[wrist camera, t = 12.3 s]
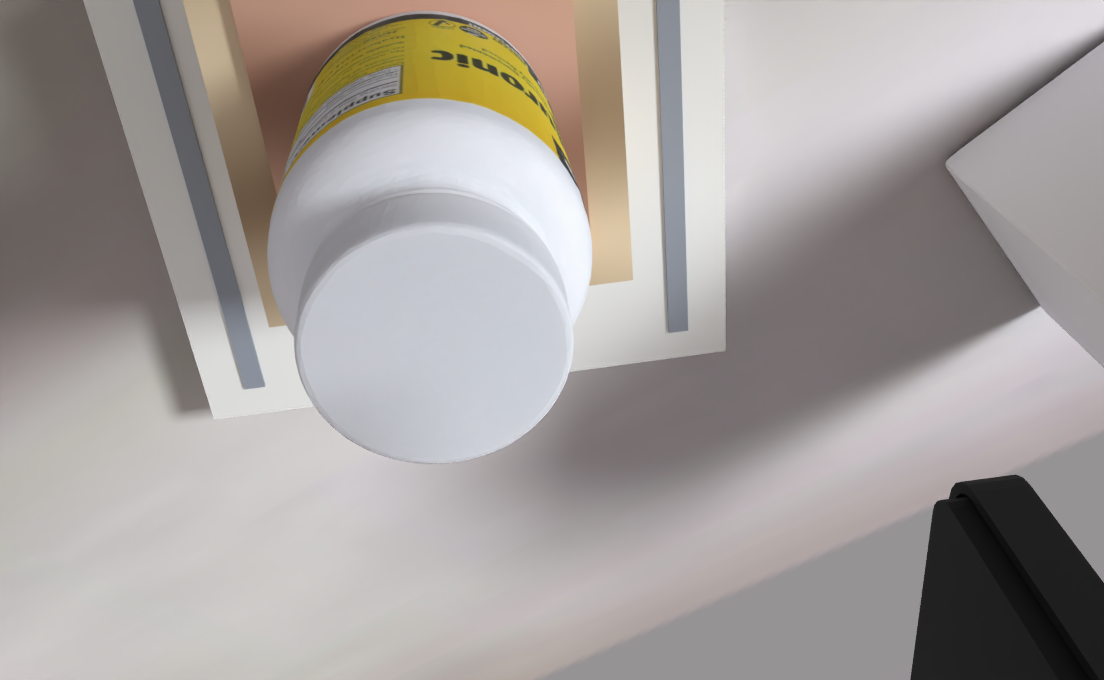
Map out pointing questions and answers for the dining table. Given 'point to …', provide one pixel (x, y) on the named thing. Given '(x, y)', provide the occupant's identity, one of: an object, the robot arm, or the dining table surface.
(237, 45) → the oak plinth
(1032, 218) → the milk carton
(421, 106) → the supplement bottle
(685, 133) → the white cutting board
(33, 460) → the dining table surface
